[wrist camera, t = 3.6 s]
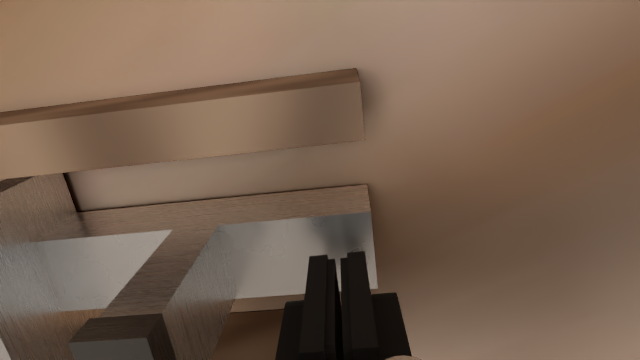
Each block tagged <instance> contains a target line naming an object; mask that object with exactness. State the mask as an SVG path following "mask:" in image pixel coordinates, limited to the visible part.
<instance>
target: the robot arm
mask: <svg viewBox="0 0 640 360" xmlns="http://www.w3.org/2000/svg"><path fill="white" fill-rule="evenodd" d="M340 266H341V301H340V294H339V286H338V278H337V270H336V263H335V259H328V255H317V256H309V263H308V272H307V281H306V290H305V299H304V300H303V301H291V302H286V304H285V308H284V313H283V319H282V324H281V330H280V335H279V341H278V346H277V352H276V357H275V360H421V359H418V358H416V357H412V355H411V351H410V347H409V343H408V338H407V334H406V330H405V326H404V322H403V318H402V314H401V309H400V305H399V301H398V297H397V294H396V293H384V294H373V295H371V292H370V285H369V278H368V271H367V264H366V257H365V251H359V252H349V253H347V258H340ZM341 303H342V309H341Z"/></svg>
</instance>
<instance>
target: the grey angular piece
mask: <svg viewBox="0 0 640 360" xmlns="http://www.w3.org/2000/svg"><path fill="white" fill-rule="evenodd" d="M359 251H365V257H366V264H367V271H368V278H369V285H370V289H378V285H377V274H376V263H375V252H374V241H373V230H372V219H371V209H370V203H369V196H368V189H367V184H366V185H355V186H345V187H335V188H325V189H314V190H304V191H294V192H283V193H273V194H263V195H252V196H242V197H232V198H222V199H211V200H201V201H191V202H180V203H170V204H160V205H150V206H139V207H129V208H119V209H108V210H98V211H88V212H76V209H75V207H74V204H73V201H72V198H71V196H70V193H69V190H68V187H67V185H66V182H65V179H64V176H63V174H62V173H56V174H46V175H37V176H28V177H18V178H9V179H5V180H3V181H0V360H211V357H212V355H213V352H214V350H215V347H216V345H217V342H218V340H219V337H220V335H221V333H222V330H223V328H224V325H225V323H226V320H227V318H228V315H229V313H230V310H231V308H232V305H233V303H234V300H235V299H240V298H254V297H268V296H282V295H295V294H305V290H306V281H307V272H308V263H309V256H317V255H328V259H335V263H336V270H337V278H338V286H339V291H341V266H340V258H347V253H349V252H359Z"/></svg>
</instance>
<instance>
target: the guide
mask: <svg viewBox="0 0 640 360" xmlns="http://www.w3.org/2000/svg"><path fill="white" fill-rule="evenodd" d="M363 140H365V131H364V120H363V109H362V98H361V87H360V80H359V77H358V73H357V70H356V68H353V69H345V70H337V71H329V72H321V73H313V74H305V75H297V76H289V77H281V78H273V79H265V80H257V81H249V82H241V83H233V84H224V85H216V86H208V87H200V88H192V89H184V90H176V91H168V92H160V93H152V94H144V95H136V96H128V97H120V98H112V99H104V100H96V101H88V102H80V103H72V104H64V105H56V106H48V107H40V108H32V109H24V110H16V111H8V112H0V179H9V178H18V177H28V176H37V175H46V174H56V173H65V172H74V171H83V170H93V169H102V168H111V167H121V166H130V165H139V164H149V163H158V162H167V161H177V160H186V159H195V158H204V157H214V156H223V155H232V154H242V153H251V152H260V151H270V150H279V149H288V148H297V147H307V146H316V145H325V144H335V143H344V142H353V141H363ZM341 309H342V306H341ZM283 313H284V310H270V311H256V312H241V313H229V315H228V318H227V320H226V323H225V325H224V328H223V330H222V333H221V335H220V337H219V340H218V342H217V345H216V347H215V350H214V352H213V355H212V357H211V360H275V357H276V352H277V346H278V341H279V335H280V330H281V324H282V319H283Z"/></svg>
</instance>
